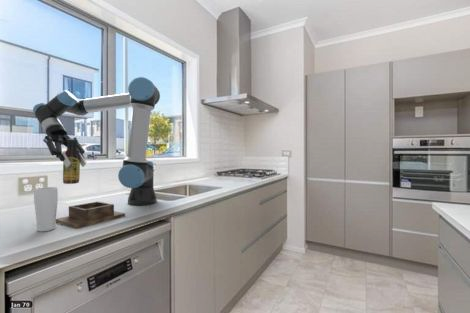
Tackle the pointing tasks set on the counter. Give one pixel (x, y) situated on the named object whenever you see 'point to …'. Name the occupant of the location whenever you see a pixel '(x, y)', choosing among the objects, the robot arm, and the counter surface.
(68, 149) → the sauce bottle
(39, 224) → the drinking glass
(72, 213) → the walnut bottle holder
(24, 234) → the counter surface
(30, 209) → the counter surface
